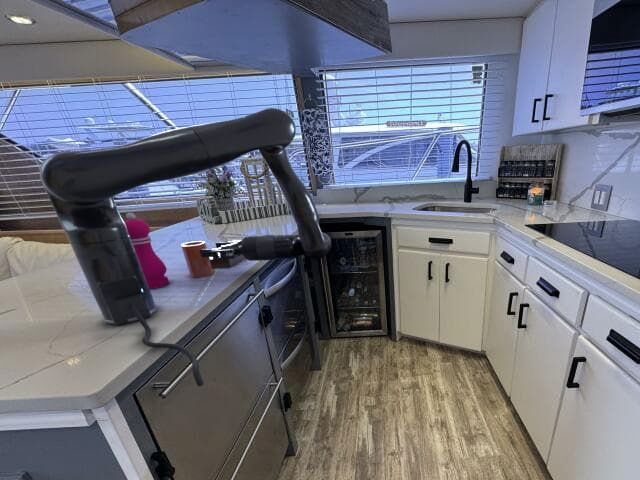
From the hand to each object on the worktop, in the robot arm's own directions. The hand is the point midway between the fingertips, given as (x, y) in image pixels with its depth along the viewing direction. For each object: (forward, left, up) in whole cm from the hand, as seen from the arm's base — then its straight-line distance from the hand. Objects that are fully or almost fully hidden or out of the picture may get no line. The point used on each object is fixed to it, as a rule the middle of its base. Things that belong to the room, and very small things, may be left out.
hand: (209, 249), depth 96 cm
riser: (+11, -5, -8) cm, 14 cm away
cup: (+3, +3, -8) cm, 9 cm away
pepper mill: (+2, +15, -8) cm, 17 cm away
